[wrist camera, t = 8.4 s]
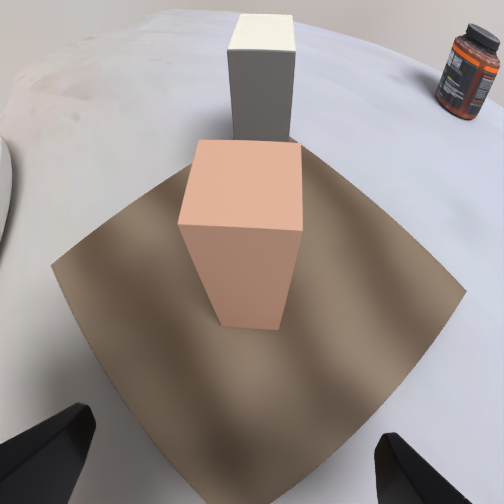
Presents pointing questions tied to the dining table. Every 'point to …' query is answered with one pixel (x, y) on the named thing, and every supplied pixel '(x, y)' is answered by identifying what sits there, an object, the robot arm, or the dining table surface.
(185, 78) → the dining table surface
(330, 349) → the brown square mat
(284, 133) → the white rectangular block
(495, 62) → the supplement bottle
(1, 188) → the bowl
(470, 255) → the dining table surface
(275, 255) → the salmon pink tall block
